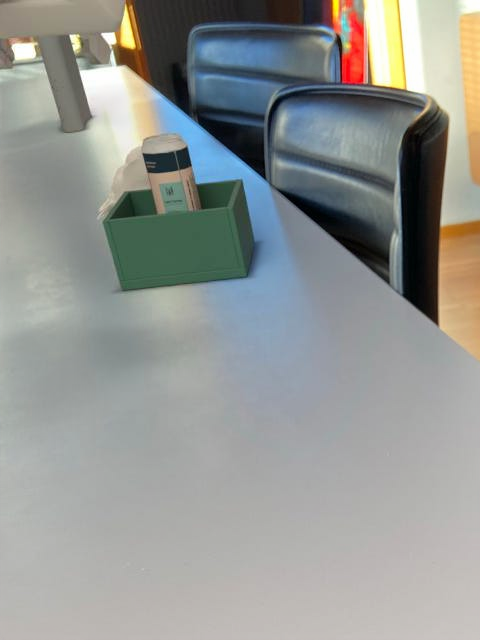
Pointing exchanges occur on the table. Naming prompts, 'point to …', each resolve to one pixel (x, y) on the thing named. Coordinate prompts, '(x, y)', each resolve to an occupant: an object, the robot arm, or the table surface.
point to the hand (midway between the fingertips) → (54, 60)
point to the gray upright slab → (65, 81)
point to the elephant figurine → (127, 179)
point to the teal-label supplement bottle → (170, 173)
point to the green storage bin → (181, 238)
